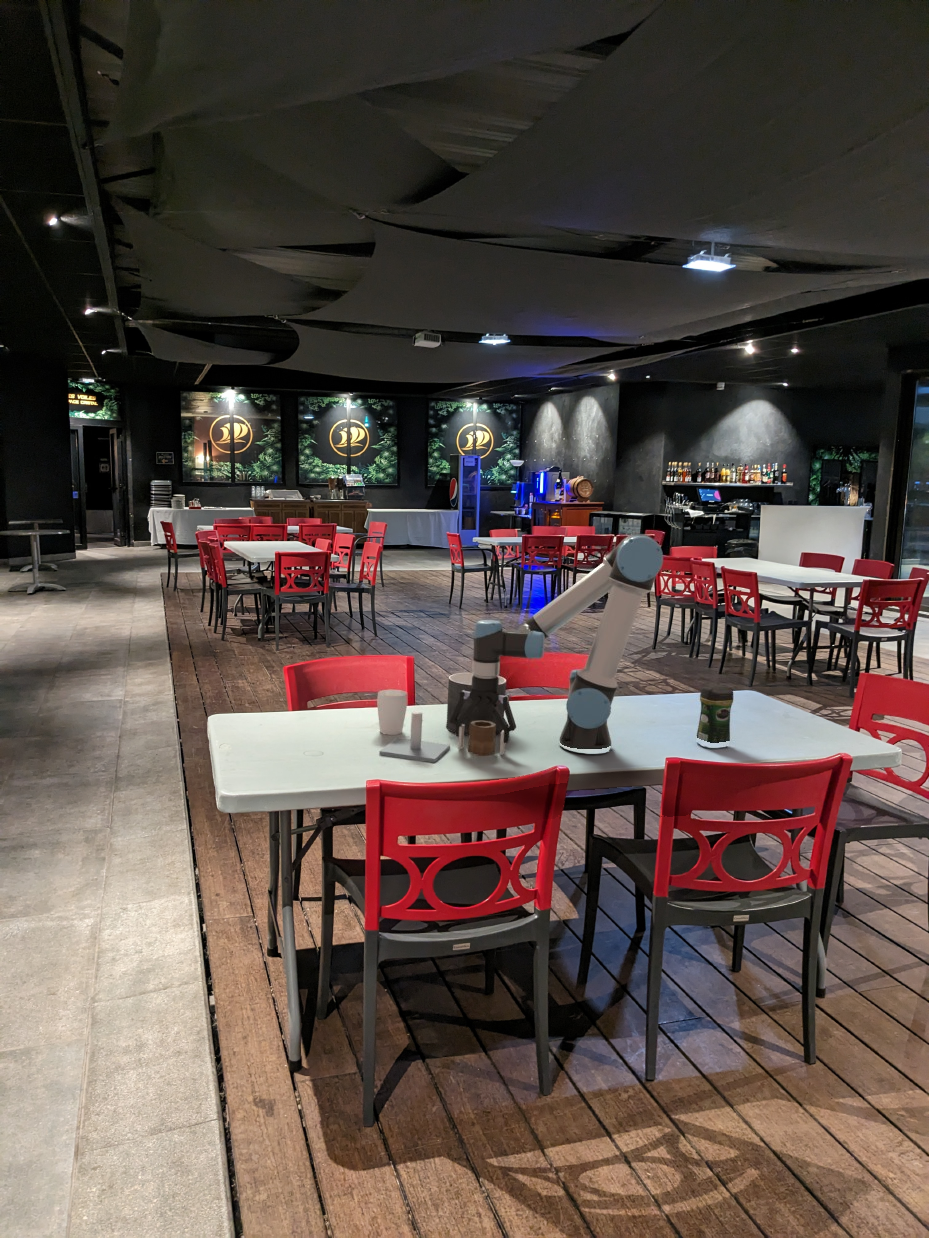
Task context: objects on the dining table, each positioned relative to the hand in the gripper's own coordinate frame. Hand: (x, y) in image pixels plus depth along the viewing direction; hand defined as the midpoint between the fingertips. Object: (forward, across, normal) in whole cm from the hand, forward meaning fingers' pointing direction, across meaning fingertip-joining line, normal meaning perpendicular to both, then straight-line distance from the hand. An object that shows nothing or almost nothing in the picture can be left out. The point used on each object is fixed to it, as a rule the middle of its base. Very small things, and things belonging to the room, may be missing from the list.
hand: (481, 750), depth 242 cm
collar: (0, 0, 0) cm, 0 cm away
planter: (0, +8, -22) cm, 23 cm away
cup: (0, +30, -7) cm, 31 cm away
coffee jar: (0, -63, -36) cm, 73 cm away
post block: (0, +17, +8) cm, 19 cm away
